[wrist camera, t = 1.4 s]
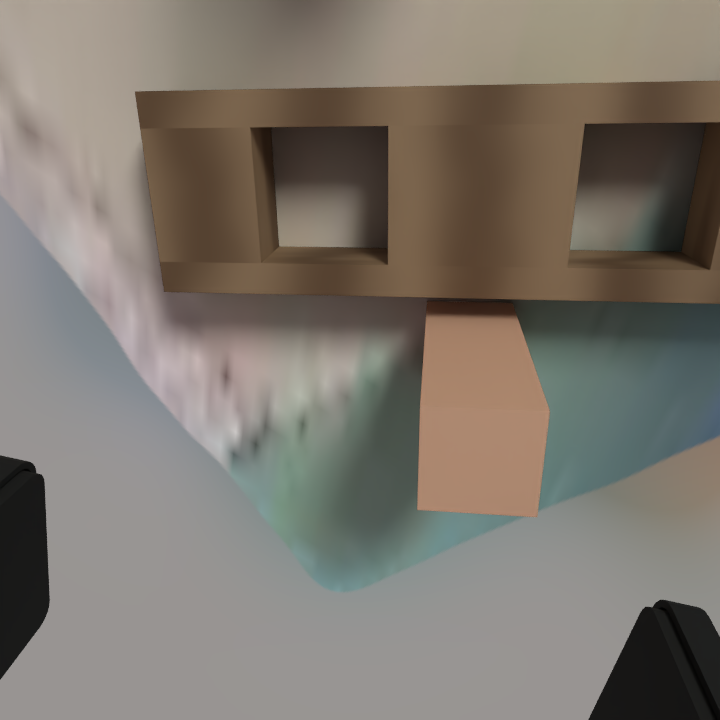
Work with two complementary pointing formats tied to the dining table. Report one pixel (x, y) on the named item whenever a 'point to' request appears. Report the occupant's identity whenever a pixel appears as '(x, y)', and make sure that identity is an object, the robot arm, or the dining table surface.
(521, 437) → the peg
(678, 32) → the dining table surface
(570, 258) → the rail
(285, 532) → the dining table surface
